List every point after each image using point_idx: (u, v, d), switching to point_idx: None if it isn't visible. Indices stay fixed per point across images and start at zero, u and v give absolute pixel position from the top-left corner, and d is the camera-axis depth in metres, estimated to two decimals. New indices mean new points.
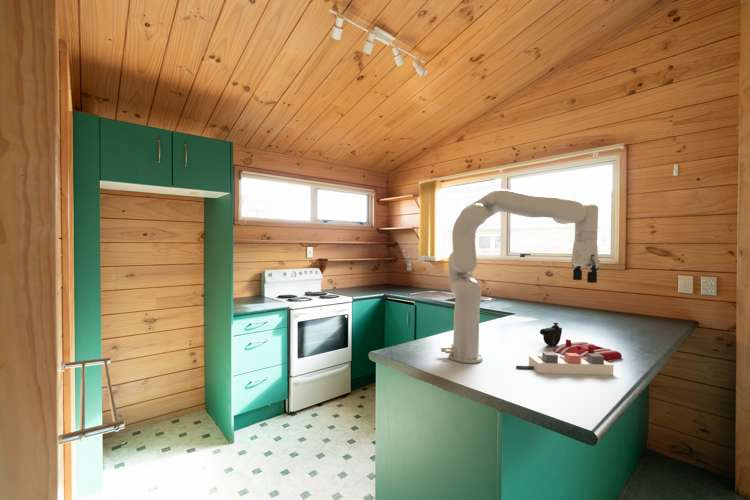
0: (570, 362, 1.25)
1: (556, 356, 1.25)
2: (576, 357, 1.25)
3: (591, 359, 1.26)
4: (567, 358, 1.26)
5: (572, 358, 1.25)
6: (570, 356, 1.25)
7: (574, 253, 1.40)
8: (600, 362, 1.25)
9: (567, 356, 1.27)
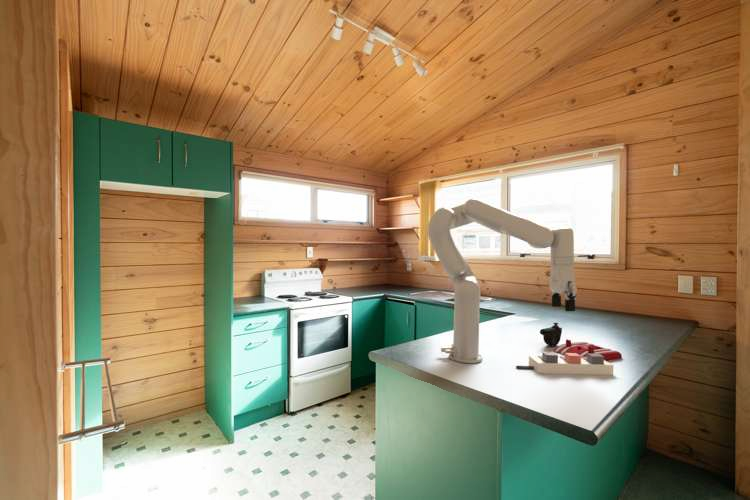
0: (570, 362, 1.25)
1: (556, 356, 1.25)
2: (576, 357, 1.25)
3: (591, 359, 1.26)
4: (567, 358, 1.26)
5: (572, 358, 1.25)
6: (570, 356, 1.25)
7: (551, 279, 1.33)
8: (600, 362, 1.25)
9: (567, 356, 1.27)
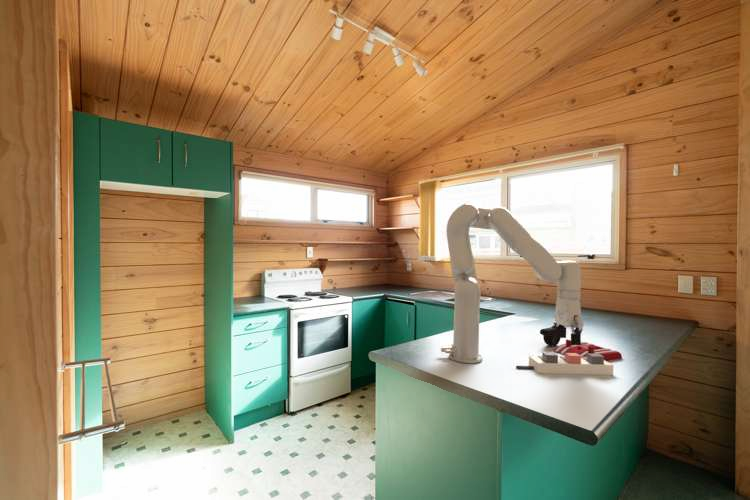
0: (570, 362, 1.25)
1: (556, 356, 1.25)
2: (576, 357, 1.25)
3: (591, 359, 1.26)
4: (567, 358, 1.26)
5: (572, 358, 1.25)
6: (570, 356, 1.25)
7: (557, 310, 1.34)
8: (600, 362, 1.25)
9: (567, 356, 1.27)
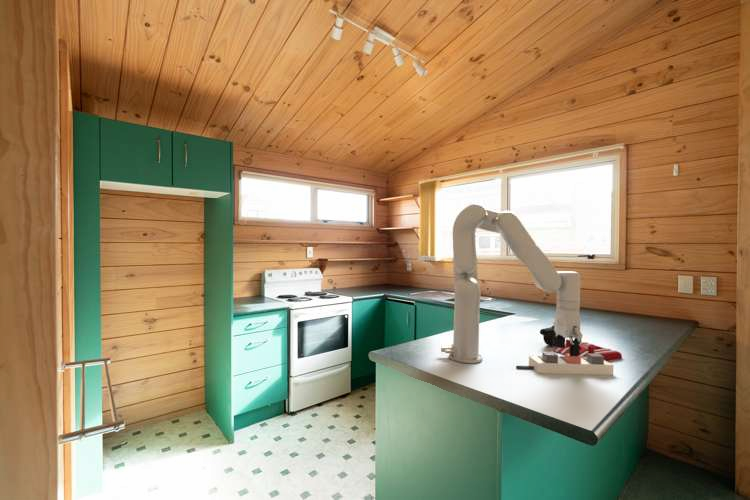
0: (570, 363, 1.25)
1: (556, 356, 1.25)
2: (576, 358, 1.25)
3: (591, 359, 1.26)
4: (567, 359, 1.26)
5: (572, 359, 1.25)
6: (570, 357, 1.25)
7: (556, 321, 1.34)
8: (600, 362, 1.25)
9: (567, 357, 1.27)
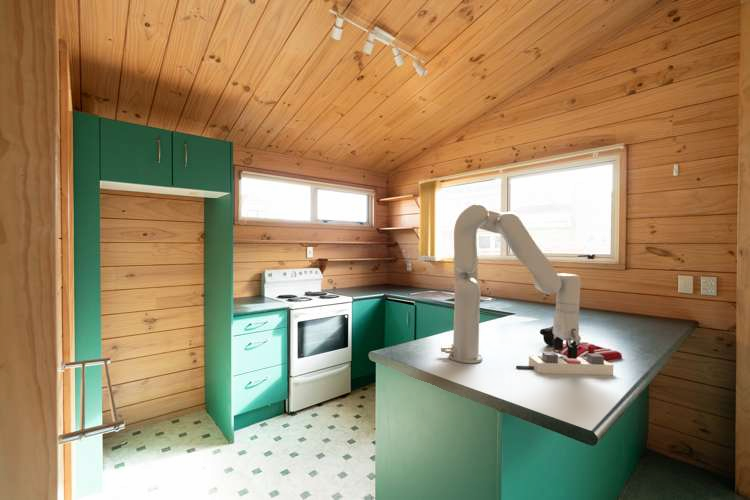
0: None
1: (556, 356, 1.25)
2: (576, 362, 1.25)
3: (591, 359, 1.26)
4: None
5: (572, 363, 1.25)
6: (570, 361, 1.25)
7: (555, 323, 1.34)
8: (600, 362, 1.25)
9: (567, 361, 1.27)
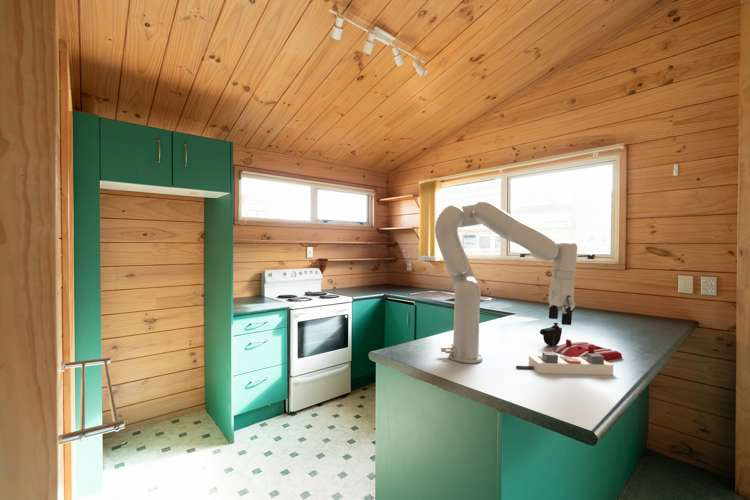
0: None
1: (556, 356, 1.25)
2: (576, 362, 1.25)
3: (591, 359, 1.26)
4: None
5: (572, 363, 1.25)
6: (570, 361, 1.25)
7: (550, 291, 1.34)
8: (600, 362, 1.25)
9: (567, 361, 1.27)
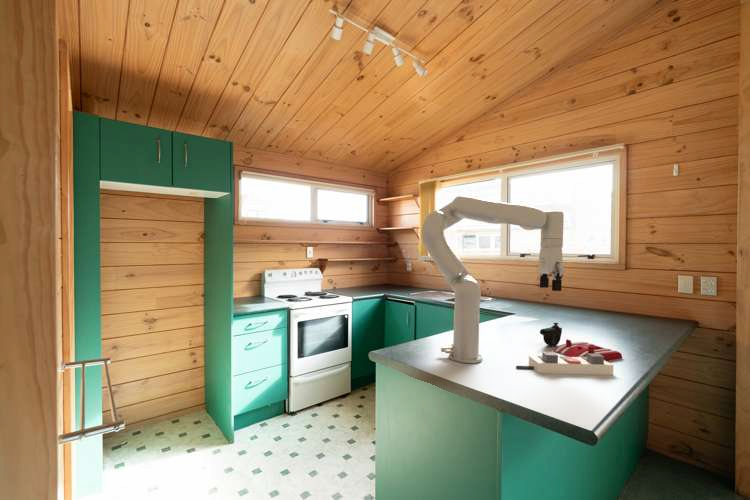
0: None
1: (556, 356, 1.25)
2: (576, 362, 1.25)
3: (591, 359, 1.26)
4: None
5: (572, 363, 1.25)
6: (570, 361, 1.25)
7: (540, 260, 1.37)
8: (600, 362, 1.25)
9: (567, 361, 1.27)
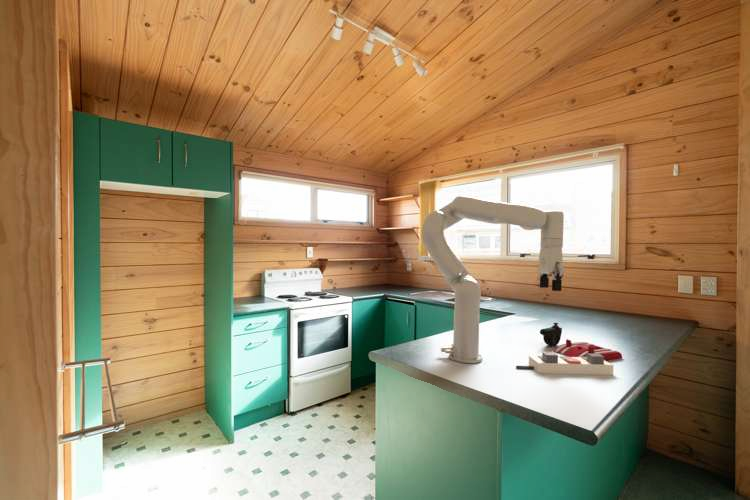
0: None
1: (556, 356, 1.25)
2: (576, 362, 1.25)
3: (591, 359, 1.26)
4: None
5: (572, 363, 1.25)
6: (570, 361, 1.25)
7: (540, 260, 1.37)
8: (600, 362, 1.25)
9: (567, 361, 1.27)
